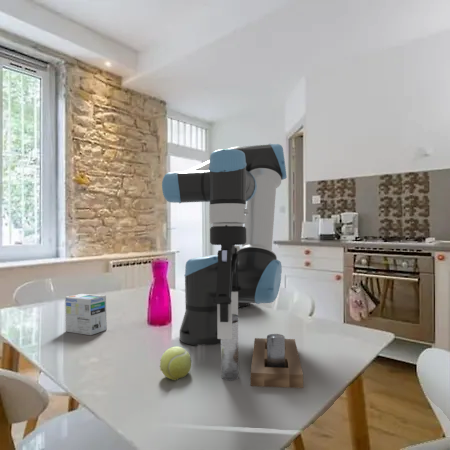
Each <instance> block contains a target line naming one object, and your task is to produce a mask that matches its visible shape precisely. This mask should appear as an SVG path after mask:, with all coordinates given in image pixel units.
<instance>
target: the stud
mask: <svg viewBox="0 0 450 450" xmlns="http://www.w3.org/2000/svg"><path fill="white" fill-rule="evenodd" d="M220 377H221V379H222V380H225V381H234V380H235V381H236V380H237V379H239V314H238V315H236V314H232V339H221V343H220Z"/></svg>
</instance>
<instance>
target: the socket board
mask: <svg viewBox="0 0 450 450" xmlns="http://www.w3.org/2000/svg"><path fill="white" fill-rule="evenodd" d="M253 342H254V343H253V348H252V349H253V351H252V358H251V359H252V360H251V366H250V387H266V388H267V387H269V388H288V389H289V388H290V389H291V388H294V389H304V373H303V368H302V364H301V360H300V355H299V352H298V347H297V342H296V339H295V338H285V368H275V367H267V337H266V338H264V337H262V338H260V337H255V338H254V341H253Z"/></svg>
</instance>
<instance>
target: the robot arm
mask: <svg viewBox="0 0 450 450" xmlns="http://www.w3.org/2000/svg"><path fill="white" fill-rule="evenodd" d="M283 147H284V146H283V145H281V144H279V143H268V144H259V145H258V144H257V145H256V144H255V145H243V146H242V145H239V146H238V145H237V146H233V147H229V148H225V149H222V148H220V149H217V150H214V151H212V152H211V153H210V155H209V159H208V160H207V161H205V162H202V163H201V164H198V165H196V166H193V167H191V168H189V169H187V170H184V171H177V170H176V171H172V172H167V173H165V174H164V176H163V178H162V182H161V189H162V195H163V198H164V199H165V200H166V201H167V202H168V203H175V204H177V203H179V204H183V203H205V202H206V203H209V223H210V225H212V226H210V228H209V243H210V245H212V246H214V245H215V246H220V250H218V252H217V254H218V255H217V254H211V255H206V256H200V257H193V258H190V259H188V260H187V261H186V263H185V266H184V267H185V270H184V271H185V272H184V285H185V286H184V290H185V291H184V292H185V297H184V298H185V302H184V303H185V312H184V315H183V318H182V321H181V324H180V329H179V340H180V341H181V342H182V343H184V344H186V345H191V346H196V347H197V346H200V345H201V346H213V345H218V344H220V345H221V339H232V314H236V315H238V316H239V307H238V302H242V303H249V304H257V305H260V304H272V303H273V302H275V301H276V299H277V298H278V295H279V291H280V287H281V280H282V271H283V269H282V268H283V267H282V262H281V261H280V260H278V259H277V258H278V257H277V254H276V253H275V252H274V251H273V238H274V237H273V235H274V225H275V224H274V221H275V208H276V194H277V189H278V188H279V187H280V186H281V185H282V181H283V180H286V179H287V171H286V170H287V169H286V160H285V155H284V153H285V152H284V148H283ZM235 246H241V247H240V249H239V250H238V251H237V248H235Z"/></svg>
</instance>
